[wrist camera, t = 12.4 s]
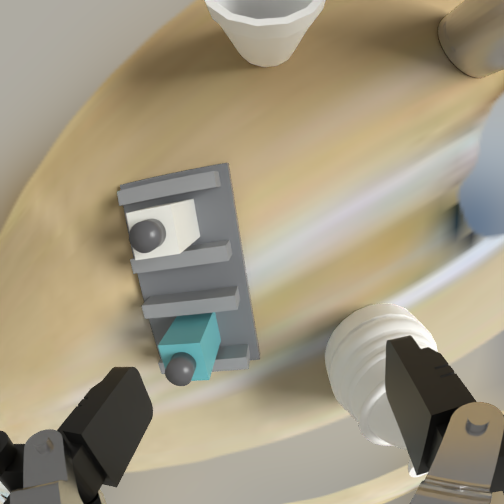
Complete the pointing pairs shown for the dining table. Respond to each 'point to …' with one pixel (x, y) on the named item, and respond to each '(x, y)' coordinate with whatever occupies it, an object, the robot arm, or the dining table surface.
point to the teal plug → (190, 348)
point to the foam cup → (265, 26)
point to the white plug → (163, 229)
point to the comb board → (198, 263)
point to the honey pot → (371, 368)
